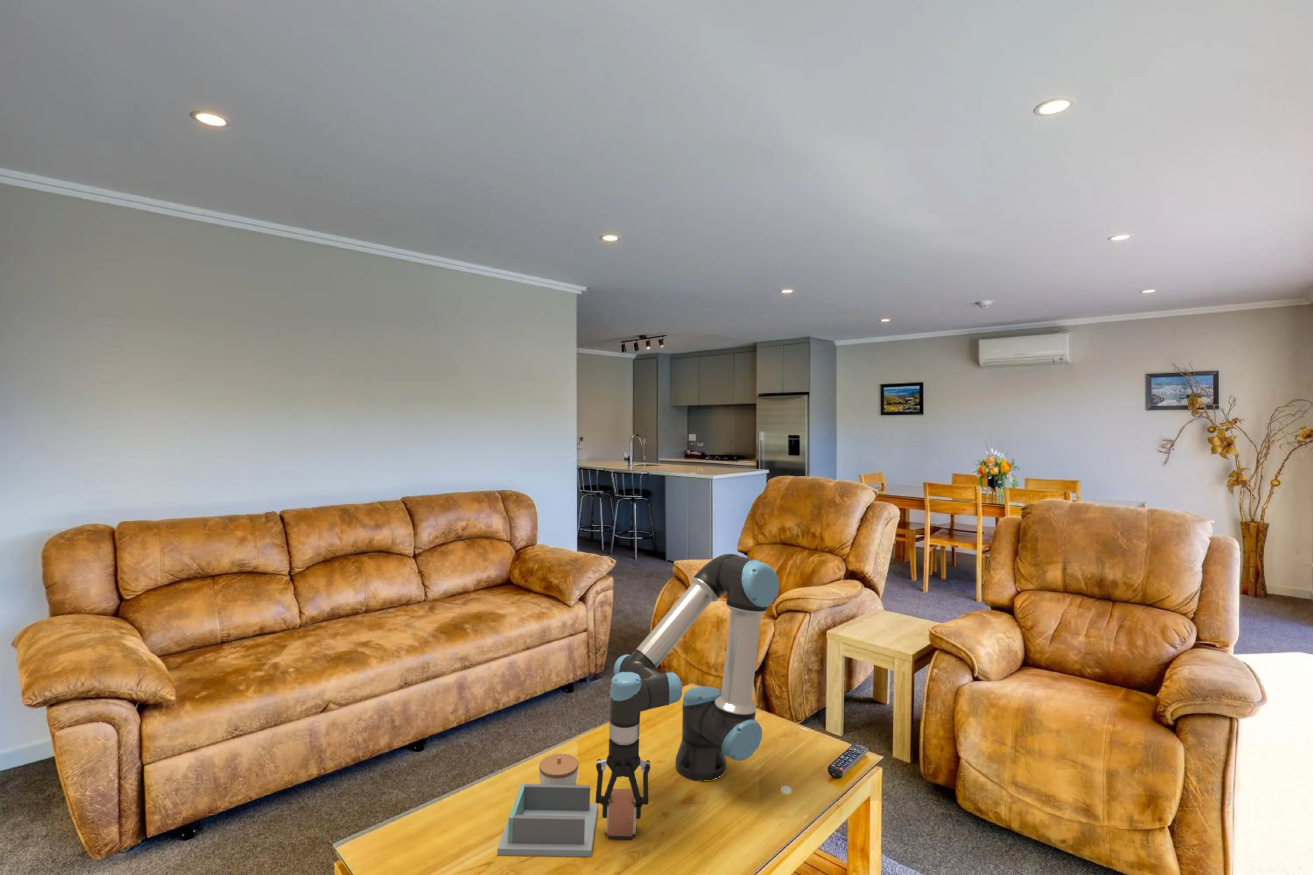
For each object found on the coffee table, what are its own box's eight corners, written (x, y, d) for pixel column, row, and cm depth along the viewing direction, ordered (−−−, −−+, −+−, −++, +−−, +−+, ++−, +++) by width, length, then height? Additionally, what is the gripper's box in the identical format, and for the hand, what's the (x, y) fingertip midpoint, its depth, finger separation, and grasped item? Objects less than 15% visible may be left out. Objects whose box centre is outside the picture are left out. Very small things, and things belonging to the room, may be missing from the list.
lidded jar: (570, 805, 163) (571, 770, 163) (532, 799, 165) (533, 765, 165) (582, 782, 173) (583, 750, 173) (547, 777, 176) (548, 745, 175)
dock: (597, 808, 162) (598, 780, 162) (591, 856, 144) (591, 824, 144) (514, 807, 161) (514, 779, 161) (497, 854, 143) (498, 823, 143)
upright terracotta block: (633, 824, 156) (634, 789, 156) (632, 840, 150) (633, 803, 150) (609, 823, 156) (610, 788, 156) (607, 839, 150) (609, 802, 150)
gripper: (661, 731, 156) (658, 821, 156) (588, 729, 156) (585, 819, 156) (661, 746, 149) (658, 841, 149) (584, 744, 149) (581, 839, 149)
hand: (621, 829), depth 153 cm, fingers closed on upright terracotta block, 6 cm apart
